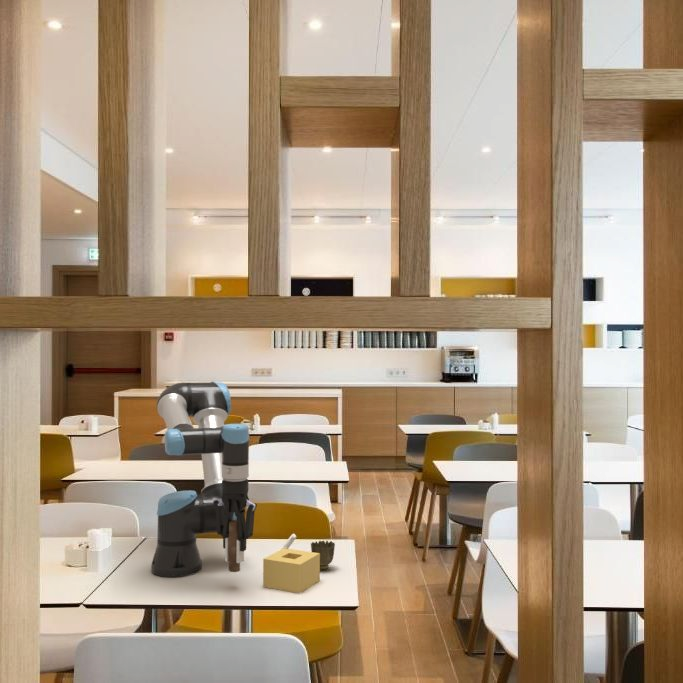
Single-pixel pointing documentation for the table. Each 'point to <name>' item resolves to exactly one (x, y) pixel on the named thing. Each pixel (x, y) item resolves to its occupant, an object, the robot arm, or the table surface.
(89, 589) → the table surface
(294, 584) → the hole block
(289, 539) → the hook
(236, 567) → the walnut peg
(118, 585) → the table surface
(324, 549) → the cup
